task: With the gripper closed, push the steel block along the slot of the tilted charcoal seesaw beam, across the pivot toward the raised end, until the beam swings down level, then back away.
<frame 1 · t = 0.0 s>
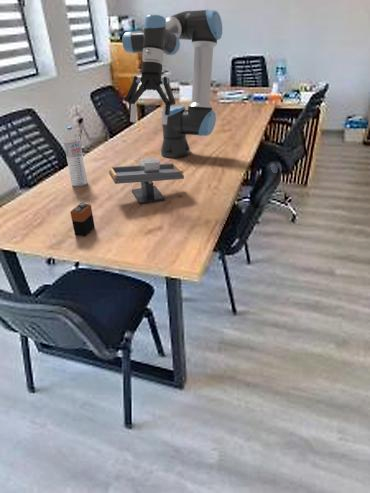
hand: (148, 123, 152), 28 cm above the table, tool tilted 20°, fingers open, 13 cm apart
beam: (146, 174, 157), point 9 cm above the table, hinge at -5.5°, touching rider
stand: (148, 196, 162), on the table
water bottle: (80, 184, 177), on the table
rider: (149, 173, 158), point 10 cm above the table, tilted 6°, touching beam
battery: (85, 232, 138), on the table
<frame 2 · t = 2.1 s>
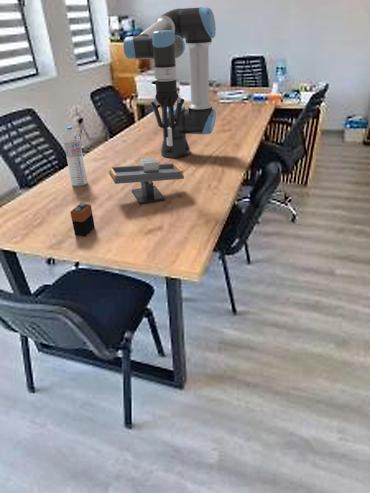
hand: (169, 145, 155), 20 cm above the table, tool pointing down, fingers closed
nothing on the table moved.
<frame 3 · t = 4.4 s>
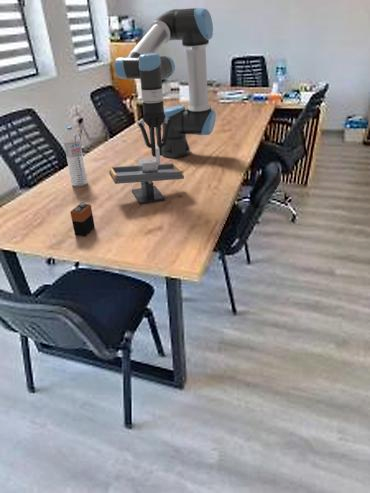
hand: (157, 164, 157), 13 cm above the table, tool pointing down, fingers closed
beam: (146, 174, 157), point 9 cm above the table, hinge at -5.5°
rider: (148, 173, 157), point 10 cm above the table, tilted 6°, touching gripper
everything else where it was.
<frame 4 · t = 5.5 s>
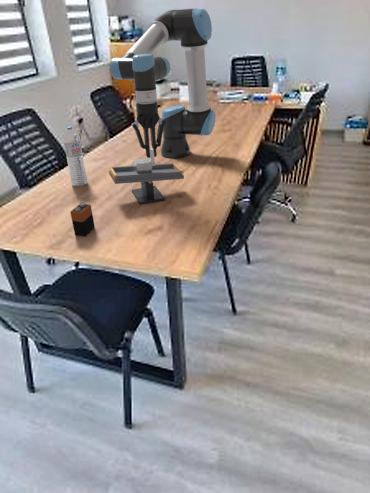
hand: (152, 165, 156), 13 cm above the table, tool pointing down, fingers closed
beam: (146, 174, 157), point 9 cm above the table, hinge at -5.4°, touching rider
rider: (142, 173, 157), point 10 cm above the table, tilted 5°, touching beam
everything else where it was.
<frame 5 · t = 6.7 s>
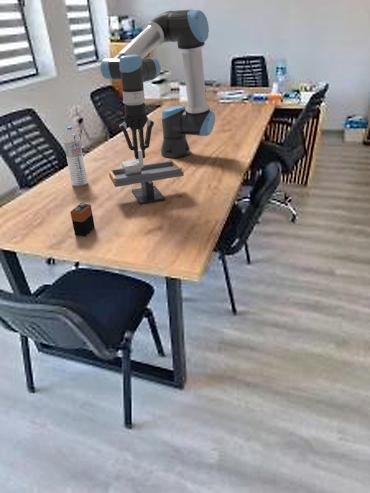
hand: (140, 166, 155), 13 cm above the table, tool pointing down, fingers closed
beam: (146, 174, 157), point 9 cm above the table, hinge at -0.2°, touching rider
rider: (132, 175, 155), point 10 cm above the table, touching beam, gripper
everything else where it was.
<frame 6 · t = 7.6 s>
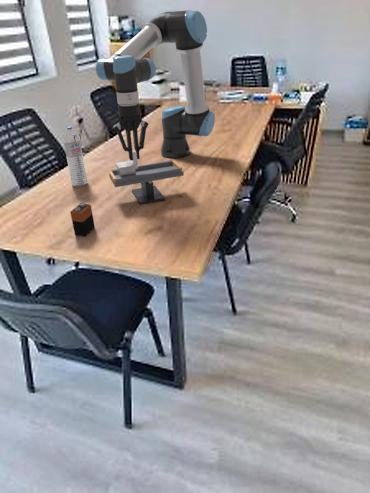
hand: (135, 167, 154), 13 cm above the table, tool pointing down, fingers closed
beam: (146, 174, 157), point 9 cm above the table, hinge at 0.3°, touching rider
rider: (126, 176, 155), point 10 cm above the table, touching beam, gripper
everything else where it was.
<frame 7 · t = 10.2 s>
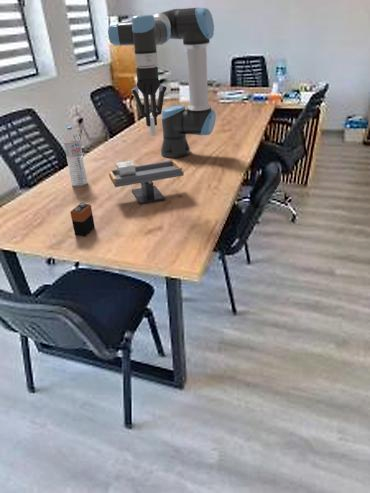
hand: (152, 134, 151), 24 cm above the table, tool pointing down, fingers closed
rider: (126, 176, 155), point 10 cm above the table, touching beam
everything else where it was.
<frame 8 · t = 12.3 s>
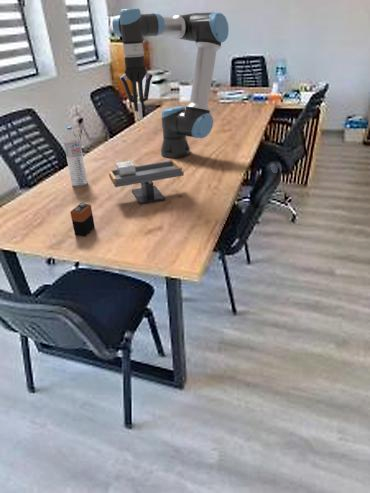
hand: (140, 119, 164), 26 cm above the table, tool pointing down, fingers closed
nothing on the table moved.
at the end: beam at +0° (first picture: -6°); rider inside the target area on the beam (0.6 cm from its centre), point 1.8 cm above the beam's base; rider tilted 0° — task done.
